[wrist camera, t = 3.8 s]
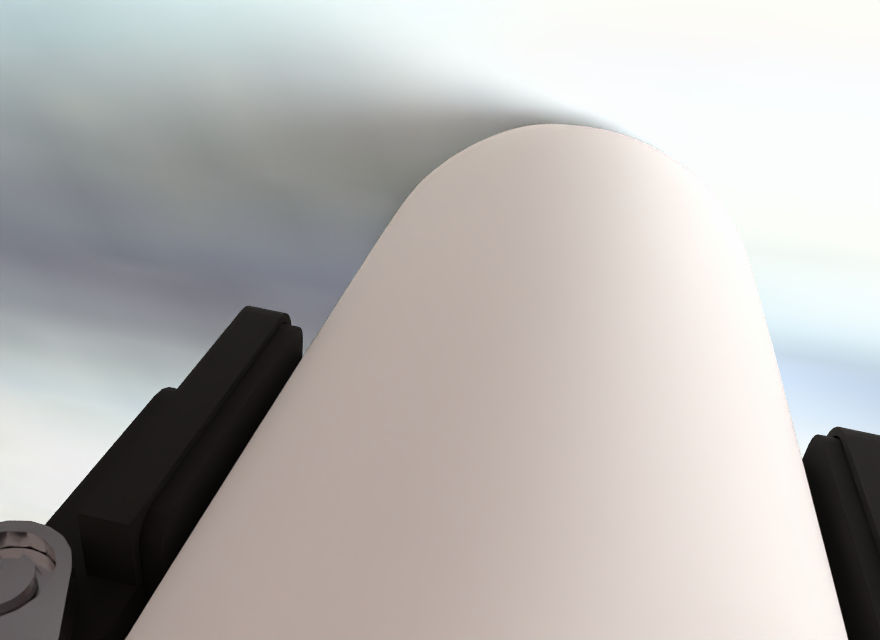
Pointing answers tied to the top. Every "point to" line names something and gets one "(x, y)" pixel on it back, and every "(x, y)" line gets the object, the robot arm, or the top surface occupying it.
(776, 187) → the top surface
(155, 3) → the top surface
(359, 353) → the can
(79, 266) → the top surface
